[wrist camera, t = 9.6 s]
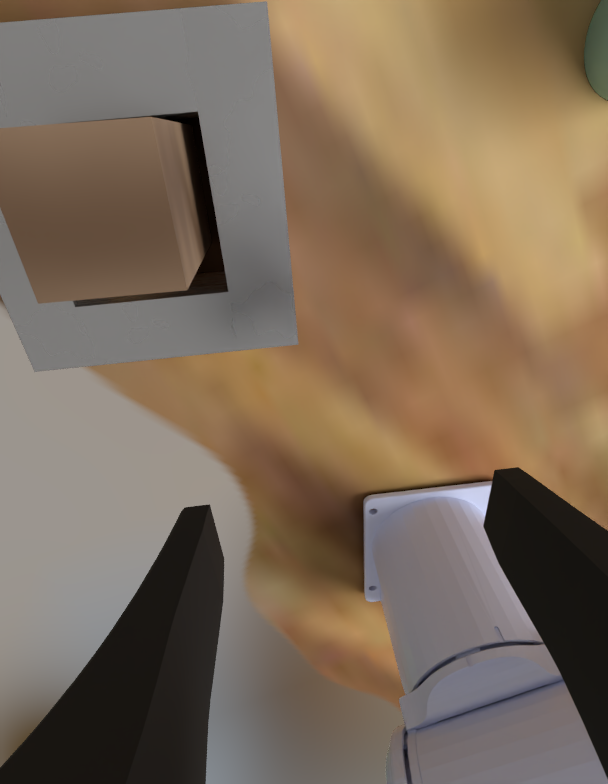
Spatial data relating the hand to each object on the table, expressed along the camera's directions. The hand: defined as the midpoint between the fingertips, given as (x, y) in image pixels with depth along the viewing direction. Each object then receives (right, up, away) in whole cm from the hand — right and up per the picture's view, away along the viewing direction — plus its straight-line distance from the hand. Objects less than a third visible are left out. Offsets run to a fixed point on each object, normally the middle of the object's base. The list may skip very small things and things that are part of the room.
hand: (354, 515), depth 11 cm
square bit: (-7, +11, +5) cm, 14 cm away
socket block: (-7, +10, +5) cm, 14 cm away
